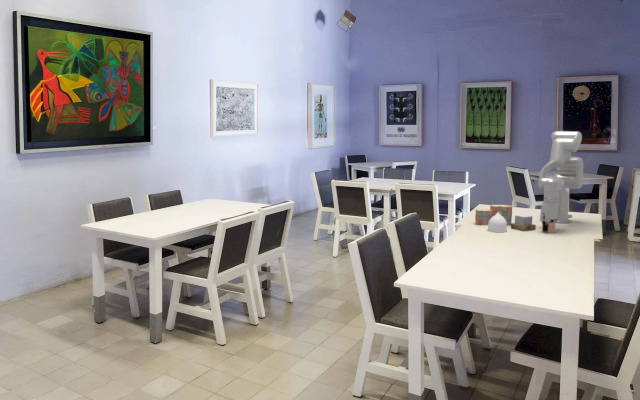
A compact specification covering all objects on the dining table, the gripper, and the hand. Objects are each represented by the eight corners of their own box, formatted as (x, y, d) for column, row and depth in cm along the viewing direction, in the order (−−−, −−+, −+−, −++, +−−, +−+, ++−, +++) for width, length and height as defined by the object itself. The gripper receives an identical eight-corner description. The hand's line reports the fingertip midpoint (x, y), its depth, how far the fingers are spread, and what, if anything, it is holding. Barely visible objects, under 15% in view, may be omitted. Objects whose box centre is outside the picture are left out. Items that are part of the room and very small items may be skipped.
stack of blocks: (476, 225, 348) (477, 205, 346) (474, 223, 354) (475, 204, 352) (511, 225, 346) (512, 206, 344) (508, 223, 352) (509, 204, 351)
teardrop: (483, 230, 331) (484, 211, 329) (494, 228, 338) (495, 209, 336) (499, 233, 322) (500, 213, 321) (510, 231, 329) (511, 211, 327)
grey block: (523, 222, 340) (523, 214, 339) (531, 224, 333) (532, 216, 333) (514, 223, 336) (515, 215, 336) (523, 225, 330) (524, 217, 329)
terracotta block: (548, 230, 330) (548, 221, 329) (554, 232, 326) (555, 222, 325) (542, 231, 328) (542, 221, 327) (548, 233, 324) (549, 223, 323)
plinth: (522, 226, 342) (522, 222, 342) (535, 229, 333) (535, 224, 333) (510, 228, 338) (511, 223, 337) (523, 231, 329) (523, 226, 328)
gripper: (555, 198, 331) (553, 228, 334) (535, 200, 324) (533, 230, 326) (565, 200, 325) (563, 230, 327) (545, 202, 317) (543, 233, 320)
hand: (548, 230), depth 327 cm, fingers closed on terracotta block, 5 cm apart
